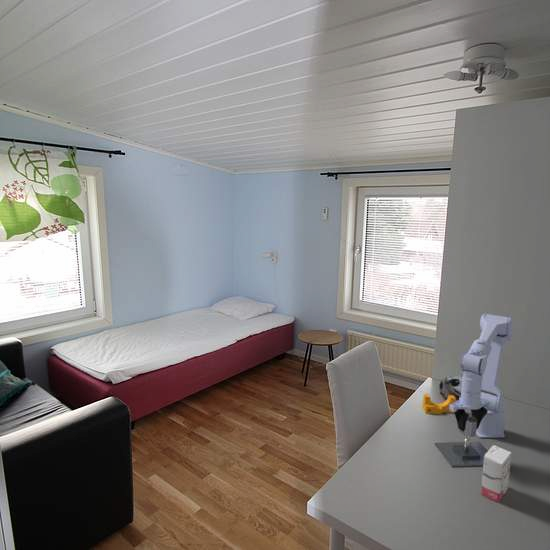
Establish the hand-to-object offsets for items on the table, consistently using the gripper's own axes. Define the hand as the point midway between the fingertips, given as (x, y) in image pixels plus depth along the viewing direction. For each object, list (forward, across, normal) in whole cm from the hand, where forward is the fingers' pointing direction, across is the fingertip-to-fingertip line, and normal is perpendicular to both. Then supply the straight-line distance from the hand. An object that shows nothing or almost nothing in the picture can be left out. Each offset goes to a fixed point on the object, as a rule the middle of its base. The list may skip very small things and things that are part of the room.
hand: (468, 428), depth 123 cm
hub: (+1, 0, 0) cm, 1 cm away
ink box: (+10, +5, +16) cm, 20 cm away
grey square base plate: (+9, 0, 0) cm, 9 cm away
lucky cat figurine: (+10, -26, -34) cm, 44 cm away
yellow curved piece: (+10, -11, -27) cm, 30 cm away
